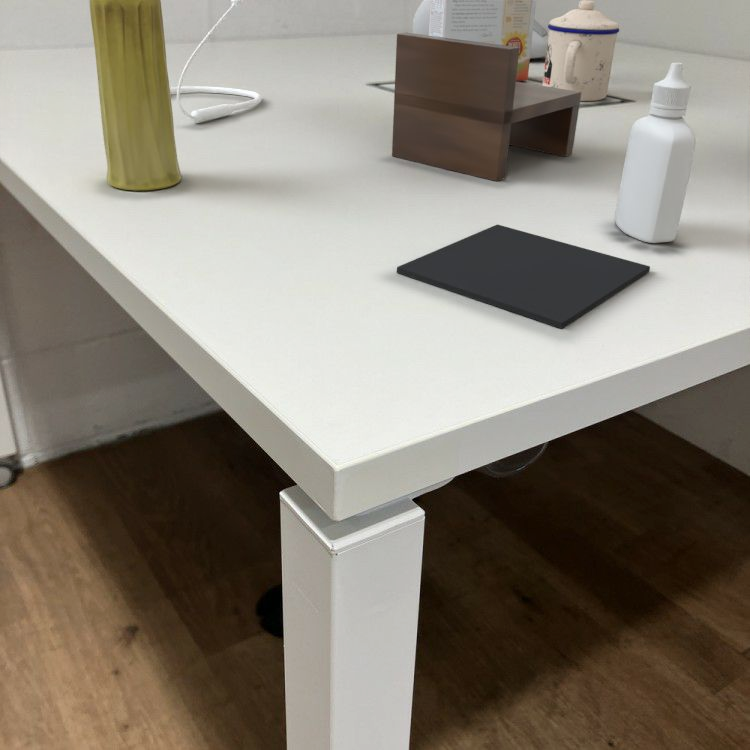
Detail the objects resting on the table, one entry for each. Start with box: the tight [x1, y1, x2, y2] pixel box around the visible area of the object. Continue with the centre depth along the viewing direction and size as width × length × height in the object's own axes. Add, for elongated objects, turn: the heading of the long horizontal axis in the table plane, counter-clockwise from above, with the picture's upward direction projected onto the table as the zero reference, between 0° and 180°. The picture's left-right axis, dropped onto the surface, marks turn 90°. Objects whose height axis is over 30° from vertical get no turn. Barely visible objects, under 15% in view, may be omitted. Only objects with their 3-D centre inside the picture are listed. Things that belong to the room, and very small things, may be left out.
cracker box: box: [429, 0, 537, 82], centre depth 113 cm, size 14×6×21 cm, turn 110°
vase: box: [89, 0, 182, 192], centre depth 65 cm, size 6×6×14 cm
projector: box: [412, 0, 549, 60], centre depth 138 cm, size 22×23×15 cm
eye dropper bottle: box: [614, 62, 697, 244], centre depth 59 cm, size 4×6×12 cm
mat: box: [396, 223, 651, 329], centre depth 54 cm, size 12×12×1 cm
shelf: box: [391, 32, 581, 182], centre depth 78 cm, size 14×12×11 cm
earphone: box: [169, 0, 263, 124], centre depth 94 cm, size 14×17×18 cm
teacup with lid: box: [541, 0, 620, 102], centre depth 106 cm, size 12×9×12 cm
